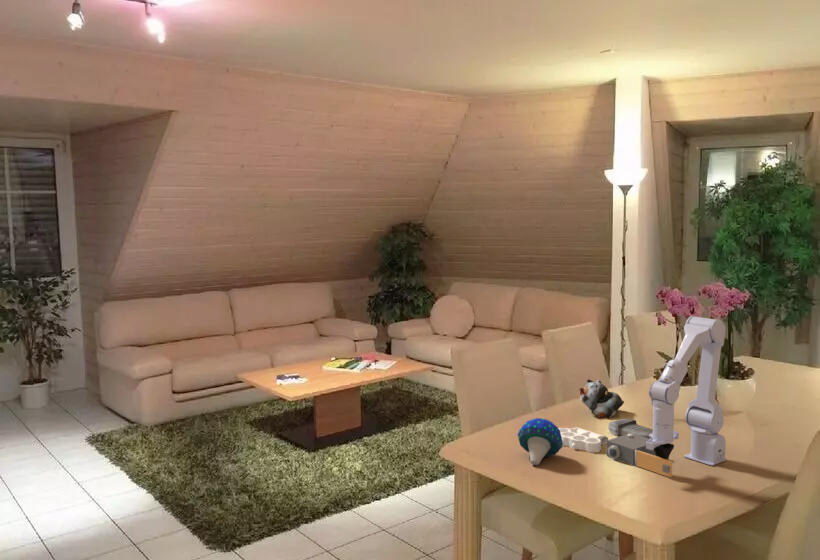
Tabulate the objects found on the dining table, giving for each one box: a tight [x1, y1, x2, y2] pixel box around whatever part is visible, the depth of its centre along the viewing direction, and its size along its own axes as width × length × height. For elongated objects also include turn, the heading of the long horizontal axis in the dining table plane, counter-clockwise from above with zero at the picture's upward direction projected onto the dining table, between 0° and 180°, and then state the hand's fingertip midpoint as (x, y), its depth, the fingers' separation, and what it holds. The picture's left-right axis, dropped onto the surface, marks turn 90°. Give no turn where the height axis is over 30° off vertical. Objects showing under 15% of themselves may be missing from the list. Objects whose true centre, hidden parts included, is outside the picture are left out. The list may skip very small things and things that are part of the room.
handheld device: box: [607, 418, 653, 439], centre depth 232 cm, size 10×20×5 cm, turn 33°
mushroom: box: [517, 417, 563, 466], centre depth 214 cm, size 14×14×15 cm
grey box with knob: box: [606, 433, 656, 467], centre depth 215 cm, size 10×13×6 cm
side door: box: [634, 450, 673, 478], centre depth 203 cm, size 2×12×5 cm, turn 37°
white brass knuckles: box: [558, 426, 609, 453], centre depth 228 cm, size 3×18×15 cm
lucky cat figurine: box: [578, 379, 625, 419], centre depth 260 cm, size 15×12×14 cm
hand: (662, 467), depth 202 cm, fingers closed
